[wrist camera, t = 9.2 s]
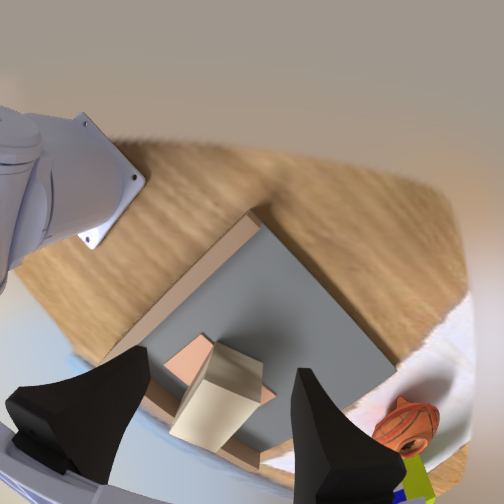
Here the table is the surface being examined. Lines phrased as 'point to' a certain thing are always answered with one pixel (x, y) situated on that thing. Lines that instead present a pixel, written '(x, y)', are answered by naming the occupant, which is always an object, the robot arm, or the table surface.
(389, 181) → the table surface
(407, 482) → the puzzle toy
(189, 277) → the tray
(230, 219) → the table surface
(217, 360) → the birch block
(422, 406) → the pot
